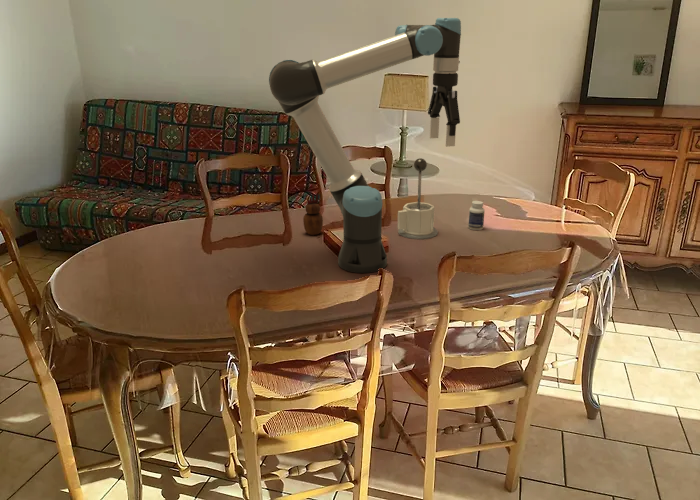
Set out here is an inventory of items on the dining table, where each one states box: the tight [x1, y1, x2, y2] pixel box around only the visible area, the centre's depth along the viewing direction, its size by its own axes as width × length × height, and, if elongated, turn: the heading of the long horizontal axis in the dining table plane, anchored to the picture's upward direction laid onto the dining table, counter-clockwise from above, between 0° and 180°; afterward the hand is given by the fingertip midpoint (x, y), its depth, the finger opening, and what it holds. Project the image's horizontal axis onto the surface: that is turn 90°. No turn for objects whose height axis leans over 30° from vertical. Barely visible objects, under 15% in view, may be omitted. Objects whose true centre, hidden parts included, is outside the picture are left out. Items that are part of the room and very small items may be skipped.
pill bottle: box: [467, 200, 485, 231], centre depth 212 cm, size 5×5×10 cm
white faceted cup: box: [397, 201, 439, 240], centre depth 208 cm, size 15×14×10 cm
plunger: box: [409, 157, 429, 211], centre depth 204 cm, size 7×7×18 cm
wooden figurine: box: [302, 191, 324, 236], centre depth 207 cm, size 7×6×15 cm
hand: (441, 142), depth 187 cm, fingers open, 13 cm apart
